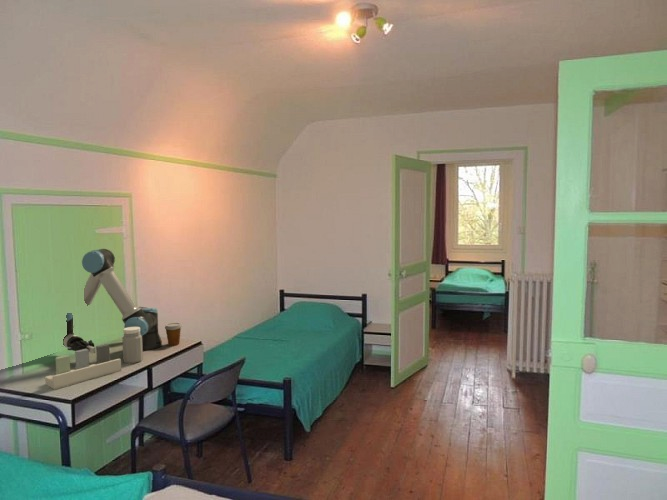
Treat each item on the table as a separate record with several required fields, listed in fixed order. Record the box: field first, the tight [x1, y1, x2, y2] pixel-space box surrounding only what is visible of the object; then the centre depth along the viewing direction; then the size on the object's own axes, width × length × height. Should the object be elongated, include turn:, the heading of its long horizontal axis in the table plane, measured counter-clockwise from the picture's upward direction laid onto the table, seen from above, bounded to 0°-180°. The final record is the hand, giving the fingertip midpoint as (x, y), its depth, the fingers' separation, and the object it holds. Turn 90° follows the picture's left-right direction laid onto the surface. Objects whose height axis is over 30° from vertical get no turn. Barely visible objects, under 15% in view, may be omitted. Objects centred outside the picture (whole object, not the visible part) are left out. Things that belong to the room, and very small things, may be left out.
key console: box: [44, 358, 122, 390], centre depth 227 cm, size 10×31×6 cm, turn 142°
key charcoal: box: [95, 343, 111, 364], centre depth 235 cm, size 3×5×12 cm, turn 142°
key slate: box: [74, 349, 90, 370], centre depth 228 cm, size 3×5×12 cm, turn 142°
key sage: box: [55, 354, 71, 375], centre depth 218 cm, size 3×5×12 cm, turn 142°
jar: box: [121, 327, 144, 365], centre depth 250 cm, size 10×10×18 cm
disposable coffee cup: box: [164, 322, 182, 346], centre depth 282 cm, size 10×10×12 cm
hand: (93, 350), depth 240 cm, fingers closed
